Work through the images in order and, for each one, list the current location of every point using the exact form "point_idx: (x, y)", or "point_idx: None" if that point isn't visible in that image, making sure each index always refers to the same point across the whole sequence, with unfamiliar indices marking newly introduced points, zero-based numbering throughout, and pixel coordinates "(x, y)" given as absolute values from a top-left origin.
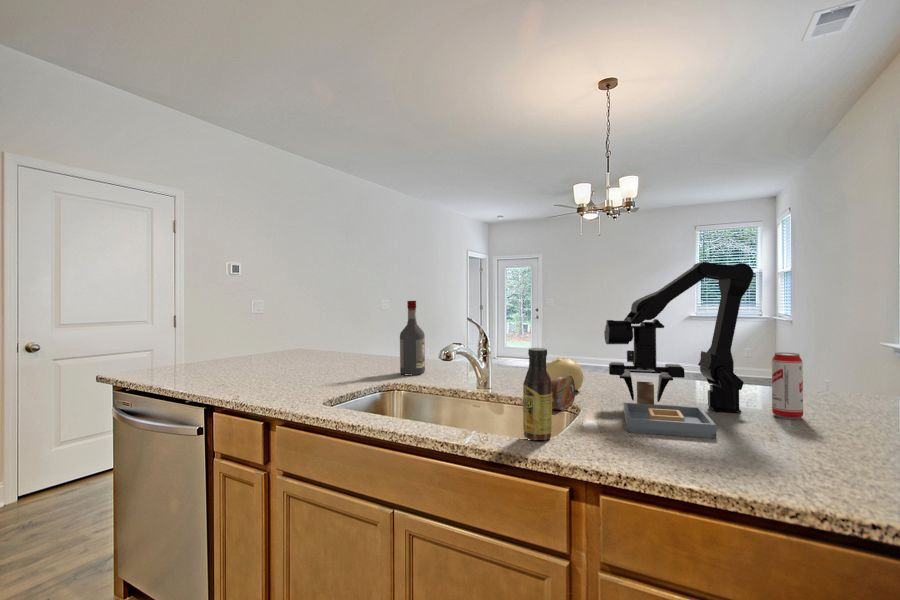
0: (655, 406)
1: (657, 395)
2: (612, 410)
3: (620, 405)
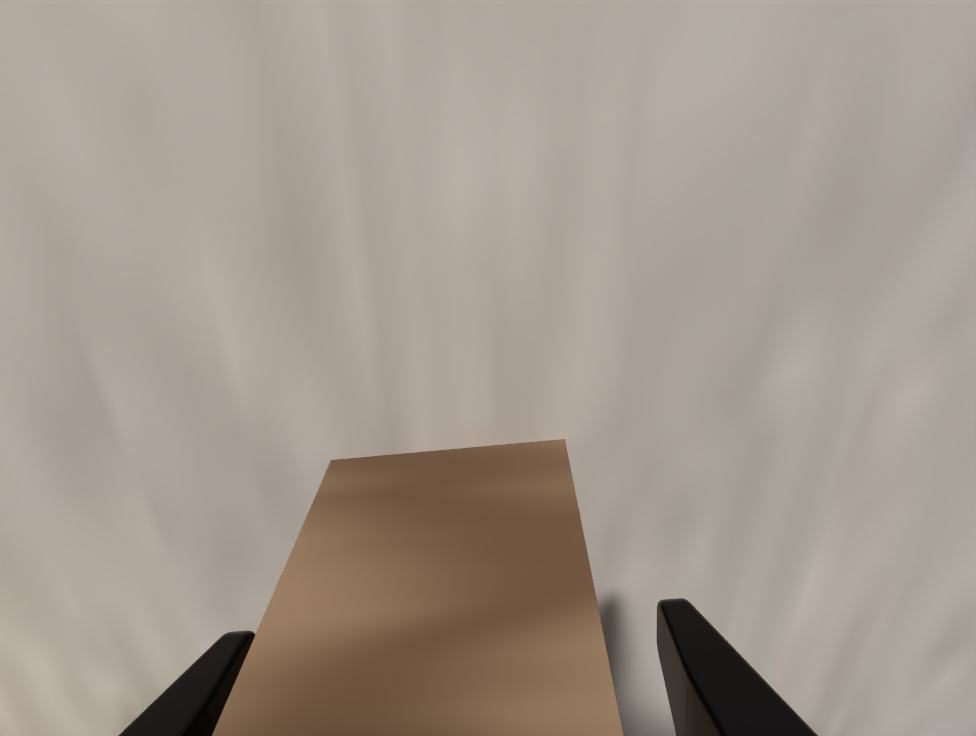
0: None
1: (691, 732)
2: (107, 732)
3: (93, 494)
